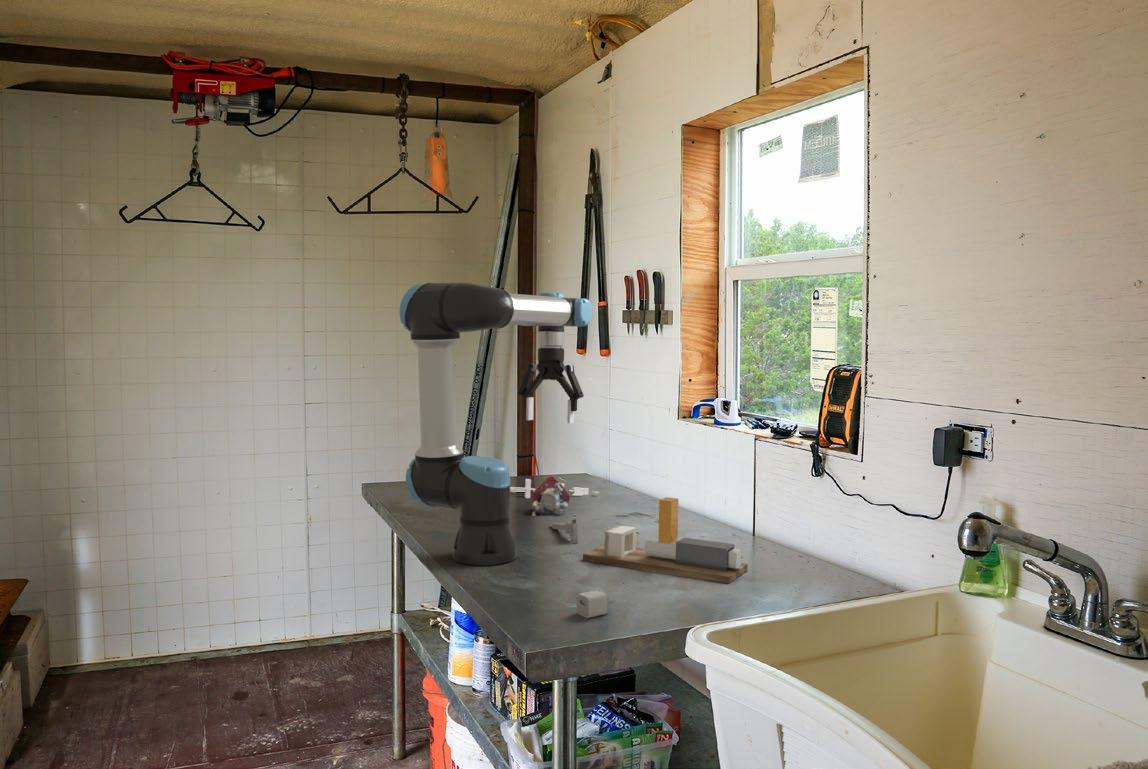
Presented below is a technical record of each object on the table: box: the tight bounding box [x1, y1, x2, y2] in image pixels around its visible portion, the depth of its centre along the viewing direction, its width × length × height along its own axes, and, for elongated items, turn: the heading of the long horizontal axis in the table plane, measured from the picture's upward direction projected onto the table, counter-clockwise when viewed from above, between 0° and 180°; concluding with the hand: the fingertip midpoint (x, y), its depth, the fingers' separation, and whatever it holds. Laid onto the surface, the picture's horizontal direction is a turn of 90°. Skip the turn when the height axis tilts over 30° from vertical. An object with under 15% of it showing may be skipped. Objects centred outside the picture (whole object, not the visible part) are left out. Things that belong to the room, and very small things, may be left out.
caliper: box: [549, 518, 579, 544], centre depth 236 cm, size 20×1×6 cm, turn 19°
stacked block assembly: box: [644, 496, 743, 568], centre depth 202 cm, size 4×22×13 cm, turn 60°
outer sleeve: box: [676, 537, 735, 571], centre depth 201 cm, size 5×12×5 cm, turn 60°
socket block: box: [604, 525, 637, 557], centre depth 212 cm, size 8×4×6 cm, turn 150°
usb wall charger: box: [576, 589, 616, 619], centre depth 172 cm, size 4×7×4 cm, turn 125°
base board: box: [582, 543, 749, 584], centre depth 206 cm, size 12×36×2 cm, turn 60°
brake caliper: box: [531, 474, 571, 517], centre depth 262 cm, size 11×11×12 cm
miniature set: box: [510, 478, 600, 499], centre depth 292 cm, size 6×35×12 cm
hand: (550, 421), depth 256 cm, fingers open, 13 cm apart
